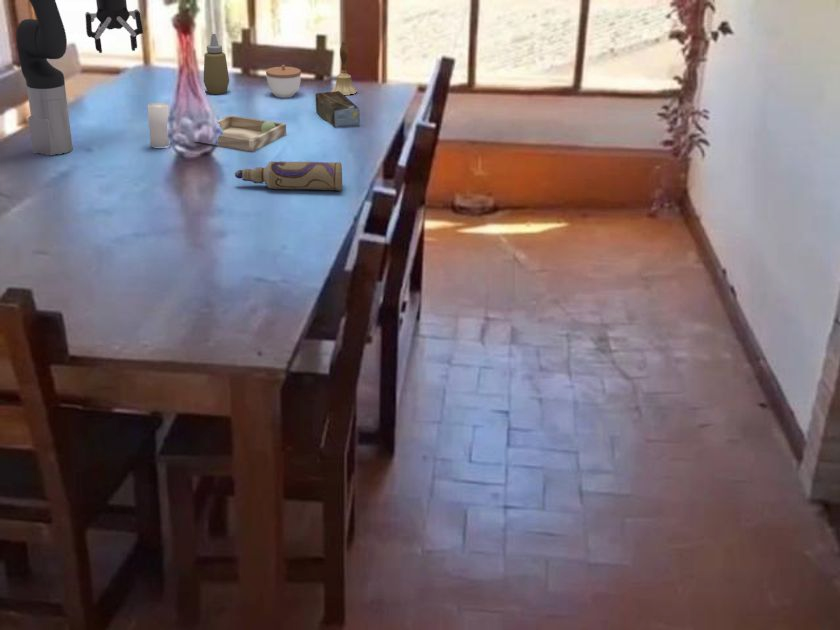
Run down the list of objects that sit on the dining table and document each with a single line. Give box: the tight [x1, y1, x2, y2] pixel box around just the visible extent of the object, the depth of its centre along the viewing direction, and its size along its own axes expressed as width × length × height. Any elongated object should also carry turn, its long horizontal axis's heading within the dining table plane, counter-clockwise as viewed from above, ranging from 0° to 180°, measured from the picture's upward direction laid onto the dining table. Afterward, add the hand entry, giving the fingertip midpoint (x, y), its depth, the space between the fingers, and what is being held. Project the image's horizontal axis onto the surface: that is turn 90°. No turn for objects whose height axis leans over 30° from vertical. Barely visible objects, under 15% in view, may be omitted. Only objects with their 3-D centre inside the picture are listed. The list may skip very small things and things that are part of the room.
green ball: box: [261, 120, 276, 133], centre depth 291 cm, size 4×4×4 cm
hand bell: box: [330, 41, 358, 96], centre depth 334 cm, size 8×8×16 cm
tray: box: [217, 114, 287, 153], centre depth 289 cm, size 18×18×4 cm
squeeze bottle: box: [203, 33, 230, 95], centre depth 330 cm, size 8×8×18 cm
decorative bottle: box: [234, 160, 343, 191], centre depth 255 cm, size 26×8×7 cm, turn 89°
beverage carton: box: [315, 91, 361, 129], centre depth 308 cm, size 8×19×7 cm, turn 21°
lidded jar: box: [265, 64, 302, 99], centre depth 331 cm, size 11×11×9 cm
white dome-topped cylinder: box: [147, 102, 170, 147], centre depth 281 cm, size 5×5×11 cm
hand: (117, 51), depth 283 cm, fingers open, 8 cm apart
